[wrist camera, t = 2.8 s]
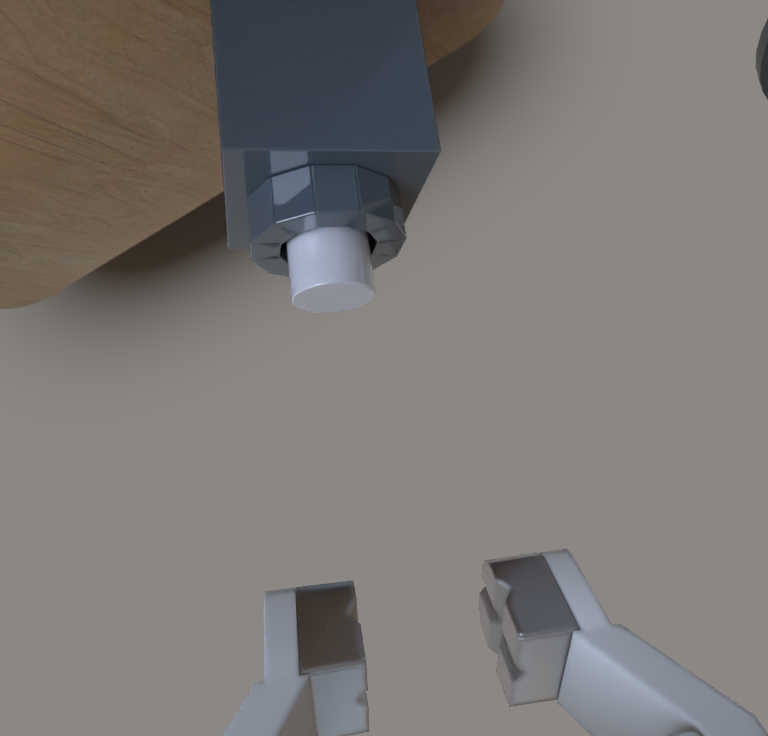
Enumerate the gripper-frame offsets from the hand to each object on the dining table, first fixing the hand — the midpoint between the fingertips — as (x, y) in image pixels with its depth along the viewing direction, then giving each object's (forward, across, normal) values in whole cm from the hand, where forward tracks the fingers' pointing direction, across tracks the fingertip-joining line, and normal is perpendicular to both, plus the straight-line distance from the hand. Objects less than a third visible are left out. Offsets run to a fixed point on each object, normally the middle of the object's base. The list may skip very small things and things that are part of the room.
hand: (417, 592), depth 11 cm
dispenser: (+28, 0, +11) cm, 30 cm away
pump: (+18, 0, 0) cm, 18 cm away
